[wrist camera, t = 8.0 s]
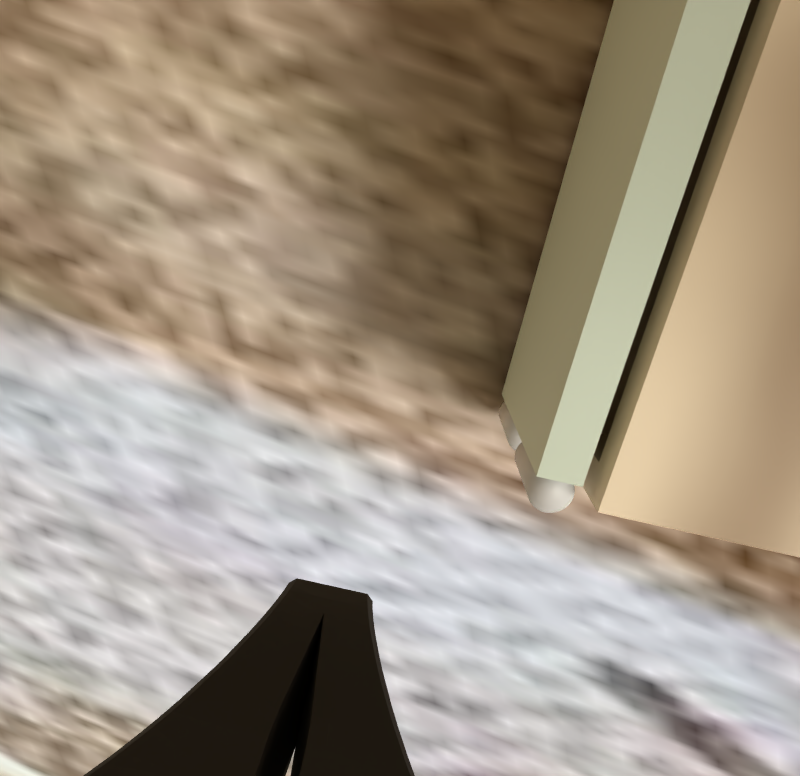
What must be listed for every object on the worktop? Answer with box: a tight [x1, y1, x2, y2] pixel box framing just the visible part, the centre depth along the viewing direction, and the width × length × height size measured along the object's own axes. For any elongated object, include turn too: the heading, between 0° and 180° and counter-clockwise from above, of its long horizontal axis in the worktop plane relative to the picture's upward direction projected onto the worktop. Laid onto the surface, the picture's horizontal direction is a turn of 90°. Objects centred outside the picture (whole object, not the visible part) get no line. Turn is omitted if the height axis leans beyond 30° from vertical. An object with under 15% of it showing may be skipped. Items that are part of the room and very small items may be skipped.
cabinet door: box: [499, 0, 751, 513], centre depth 12 cm, size 2×20×6 cm, turn 167°
